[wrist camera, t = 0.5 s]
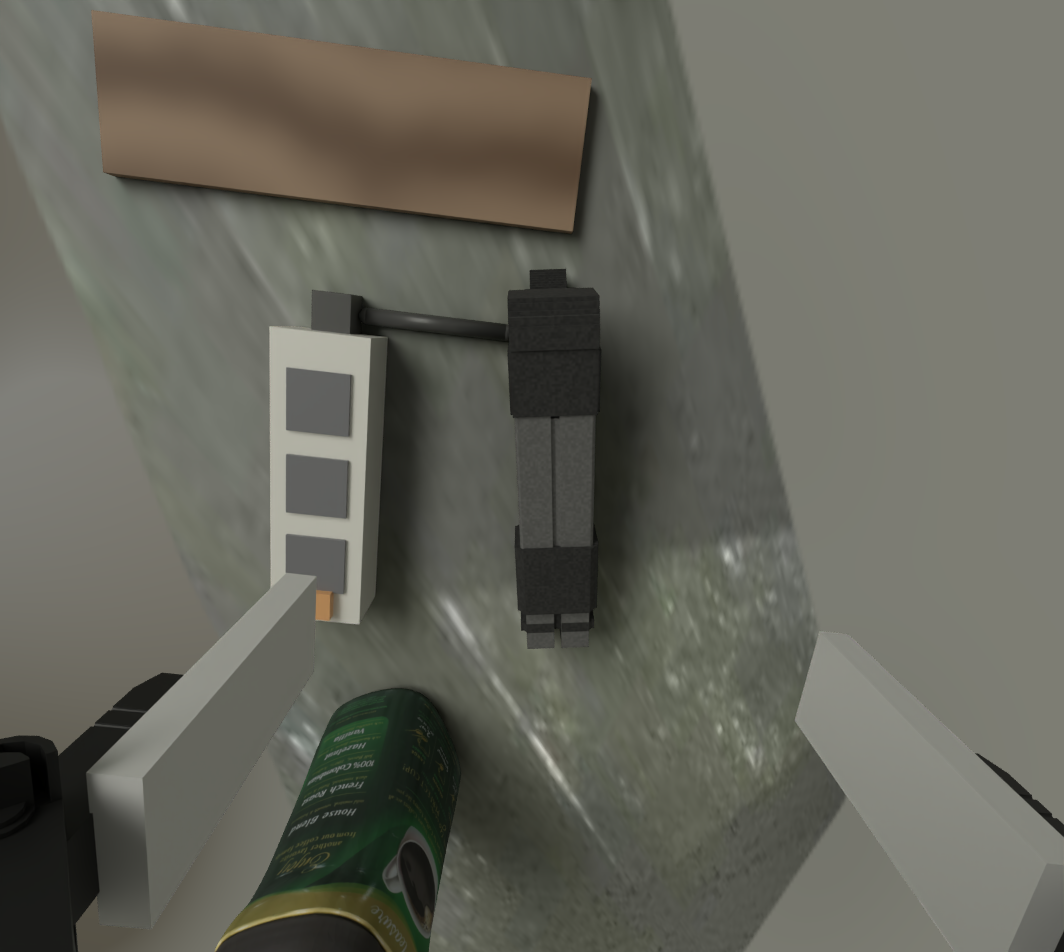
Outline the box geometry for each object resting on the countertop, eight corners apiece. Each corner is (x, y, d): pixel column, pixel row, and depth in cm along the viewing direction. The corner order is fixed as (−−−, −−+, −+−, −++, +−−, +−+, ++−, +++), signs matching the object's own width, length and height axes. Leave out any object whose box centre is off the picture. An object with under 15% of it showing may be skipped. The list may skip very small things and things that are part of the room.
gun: (588, 257, 30) (614, 319, 22) (580, 537, 41) (596, 649, 33) (505, 259, 30) (500, 323, 22) (519, 540, 41) (520, 651, 33)
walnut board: (103, 18, 27) (91, 10, 27) (589, 85, 28) (591, 78, 27) (114, 176, 29) (103, 172, 28) (571, 233, 30) (572, 231, 29)
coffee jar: (315, 702, 37) (119, 1048, 19) (426, 669, 37) (330, 994, 19) (371, 813, 40) (243, 1213, 22) (476, 784, 39) (432, 1170, 21)
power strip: (297, 288, 31) (263, 283, 27) (516, 314, 31) (514, 313, 27) (295, 588, 35) (266, 621, 31) (485, 607, 36) (480, 642, 32)
